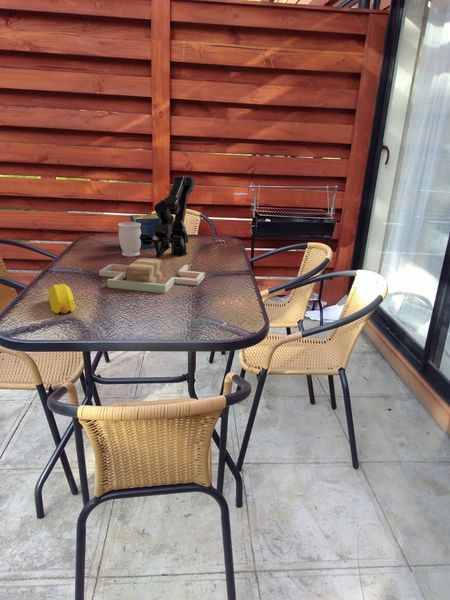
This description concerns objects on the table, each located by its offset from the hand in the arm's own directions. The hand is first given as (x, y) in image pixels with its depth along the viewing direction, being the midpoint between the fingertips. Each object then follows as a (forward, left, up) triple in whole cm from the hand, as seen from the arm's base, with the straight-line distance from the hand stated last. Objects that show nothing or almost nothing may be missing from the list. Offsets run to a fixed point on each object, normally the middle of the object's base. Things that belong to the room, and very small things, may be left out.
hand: (157, 257), depth 190 cm
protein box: (-31, +32, -6) cm, 45 cm away
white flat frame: (+3, -8, -6) cm, 11 cm away
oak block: (+4, -14, -6) cm, 16 cm away
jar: (-27, +14, -6) cm, 31 cm away
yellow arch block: (-2, -49, -7) cm, 50 cm away
